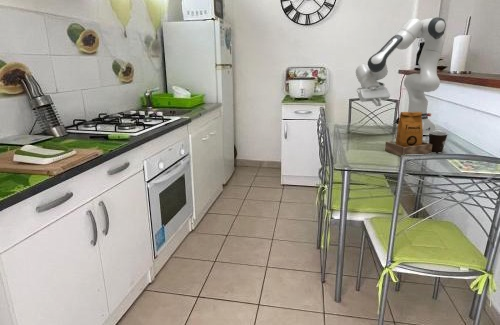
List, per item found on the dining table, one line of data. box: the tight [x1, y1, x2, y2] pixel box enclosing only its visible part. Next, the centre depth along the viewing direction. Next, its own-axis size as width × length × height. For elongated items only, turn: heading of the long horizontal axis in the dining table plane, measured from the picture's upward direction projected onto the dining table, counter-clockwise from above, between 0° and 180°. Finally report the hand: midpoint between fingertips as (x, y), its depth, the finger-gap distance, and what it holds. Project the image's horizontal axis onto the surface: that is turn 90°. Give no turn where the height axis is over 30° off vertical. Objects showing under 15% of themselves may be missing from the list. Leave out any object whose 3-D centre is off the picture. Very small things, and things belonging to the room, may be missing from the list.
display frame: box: [384, 141, 432, 157], centre depth 179 cm, size 18×14×5 cm
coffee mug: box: [428, 131, 448, 153], centre depth 178 cm, size 12×9×10 cm
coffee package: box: [395, 111, 424, 147], centre depth 176 cm, size 10×12×22 cm
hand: (379, 105), depth 198 cm, fingers closed
